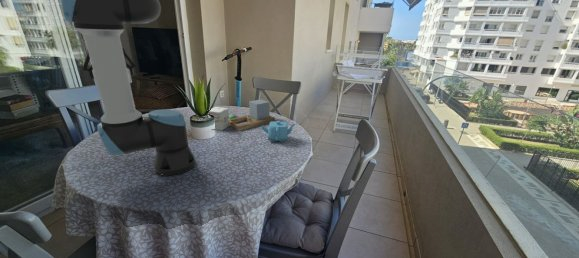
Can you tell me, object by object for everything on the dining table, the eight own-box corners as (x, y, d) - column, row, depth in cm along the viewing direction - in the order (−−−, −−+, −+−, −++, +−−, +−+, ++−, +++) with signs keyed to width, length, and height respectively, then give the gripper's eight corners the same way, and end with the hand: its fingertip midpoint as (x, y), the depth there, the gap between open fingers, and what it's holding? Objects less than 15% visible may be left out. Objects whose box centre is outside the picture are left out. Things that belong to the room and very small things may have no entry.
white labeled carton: (208, 130, 134) (206, 110, 130) (217, 125, 142) (215, 106, 138) (221, 132, 132) (220, 112, 128) (229, 127, 140) (228, 107, 135)
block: (269, 120, 148) (269, 102, 144) (257, 124, 143) (256, 104, 138) (261, 117, 154) (261, 99, 150) (249, 120, 148) (249, 101, 144)
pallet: (274, 123, 148) (274, 117, 147) (239, 132, 132) (239, 126, 131) (261, 117, 158) (261, 112, 156) (227, 125, 142) (226, 119, 141)
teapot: (259, 144, 119) (259, 125, 116) (262, 133, 132) (262, 116, 129) (295, 145, 119) (296, 126, 115) (295, 134, 132) (296, 117, 129)
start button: (236, 120, 148) (235, 115, 147) (230, 121, 146) (229, 117, 145) (232, 118, 151) (232, 114, 150) (227, 119, 148) (226, 115, 147)
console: (239, 121, 148) (239, 117, 147) (229, 124, 144) (229, 119, 143) (233, 118, 153) (233, 114, 152) (223, 121, 149) (223, 116, 148)
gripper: (132, 36, 118) (141, 80, 126) (65, 36, 102) (80, 85, 110) (136, 37, 113) (145, 82, 121) (66, 36, 97) (81, 88, 105)
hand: (114, 83), depth 116 cm, fingers open, 13 cm apart
